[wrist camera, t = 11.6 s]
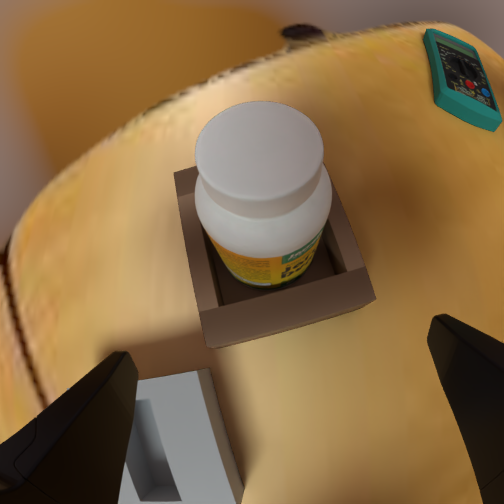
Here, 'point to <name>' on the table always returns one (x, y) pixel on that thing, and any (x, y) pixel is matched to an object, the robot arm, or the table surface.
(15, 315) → the table surface
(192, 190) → the walnut socket block
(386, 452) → the table surface
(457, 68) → the digital multimeter
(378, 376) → the table surface
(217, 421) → the grey slot block
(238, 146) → the supplement bottle
